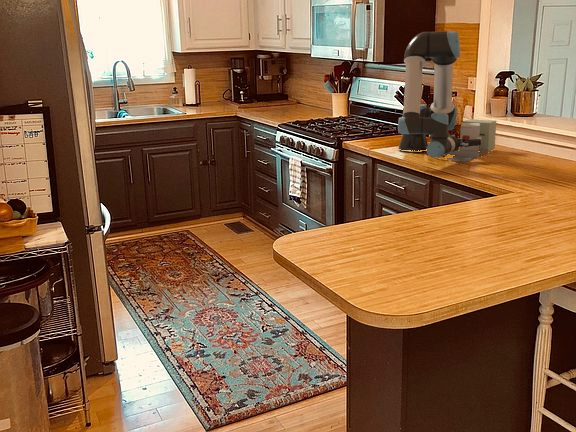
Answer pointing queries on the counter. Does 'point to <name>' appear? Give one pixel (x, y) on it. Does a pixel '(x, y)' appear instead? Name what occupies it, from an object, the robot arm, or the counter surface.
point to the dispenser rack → (486, 136)
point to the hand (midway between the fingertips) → (467, 138)
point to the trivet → (461, 158)
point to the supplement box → (469, 135)
